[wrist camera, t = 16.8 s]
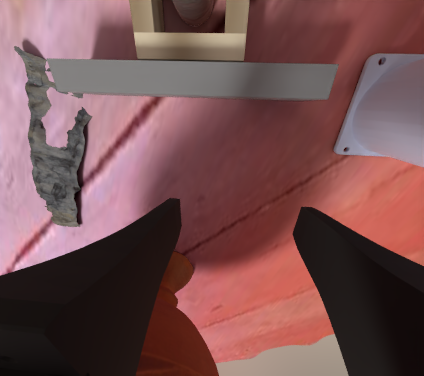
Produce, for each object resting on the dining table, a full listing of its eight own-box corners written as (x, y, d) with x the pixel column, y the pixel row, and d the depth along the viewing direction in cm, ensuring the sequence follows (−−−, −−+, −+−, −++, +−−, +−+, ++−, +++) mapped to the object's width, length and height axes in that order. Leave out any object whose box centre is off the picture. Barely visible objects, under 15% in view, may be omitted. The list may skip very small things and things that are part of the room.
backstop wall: (310, 74, 14) (338, 64, 11) (303, 101, 15) (328, 99, 11) (88, 69, 15) (46, 58, 12) (95, 94, 16) (57, 91, 12)
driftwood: (84, 228, 25) (72, 238, 23) (38, 211, 24) (22, 220, 22) (102, 85, 16) (87, 82, 14) (32, 51, 16) (5, 42, 14)
